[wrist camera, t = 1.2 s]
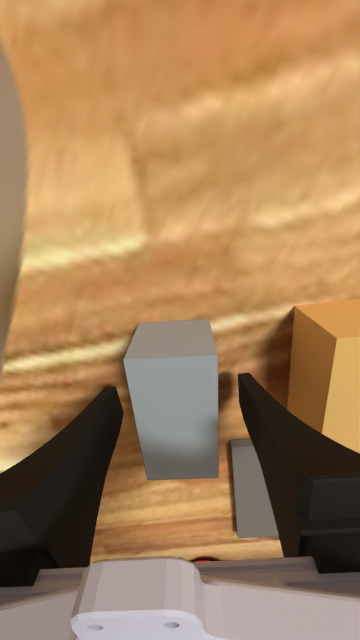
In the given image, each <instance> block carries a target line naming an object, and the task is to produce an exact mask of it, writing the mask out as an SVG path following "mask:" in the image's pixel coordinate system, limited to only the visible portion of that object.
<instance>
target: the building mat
mask: <svg viewBox="0 0 360 640" xmlns="http://www.w3.org/2000/svg"><path fill="white" fill-rule="evenodd" d="M230 442H231V457H232V472H233V486H234V501H235V516H236V530H237V536H238V538H250V537H269V536H279V534H278V530H277V526H276V522H275V518H274V514H273V510H272V506H271V503H270V499H269V495H268V491H267V488H266V484H265V480H264V476H263V473H262V469H261V466H260V463H259V460H258V457H257V454H256V451H255V448H254V446H253V443H252V440H251V439H240V440H230Z"/></svg>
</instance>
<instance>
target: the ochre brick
mask: <svg viewBox="0 0 360 640" xmlns="http://www.w3.org/2000/svg"><path fill="white" fill-rule="evenodd" d="M287 410H288V411H289V412H291V413H292V414H293V415H295V416H296V417H297V418H299V419H300V420H301V421H303V422H304V423H306V424H307V425H309V426H310V427H312V428H314V429H315V430H317V431H318V432H320V433H322V434H323V435H325V436H327V437H328V438H330V439H332V440H334V441H336V442H338V443H340V444H341V445H343V446H345V447H347V448H349V449H352V450H354V451H356V452H358V453H360V298H359V299H350V300H341V301H333V302H324V303H315V304H306V305H298V306H295V307H294V321H293V335H292V349H291V363H290V377H289V391H288V405H287Z"/></svg>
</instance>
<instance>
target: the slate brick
mask: <svg viewBox="0 0 360 640" xmlns="http://www.w3.org/2000/svg"><path fill="white" fill-rule="evenodd" d="M123 362H124V367H125V372H126V377H127V382H128V387H129V392H130V397H131V402H132V407H133V412H134V416H135V421H136V426H137V431H138V436H139V441H140V446H141V451H142V456H143V461H144V466H145V471H146V476H147V480H170V479H202V478H219V457H218V354H217V350H216V346H215V342H214V338H213V334H212V330H211V326H210V322H209V319H198V320H181V321H165V322H148V323H139V324H138V327H137V329H136V331H135V334H134V336H133V338H132V341H131V343H130V345H129V348H128V350H127V352H126V355H125V357H124V359H123Z"/></svg>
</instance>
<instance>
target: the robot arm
mask: <svg viewBox="0 0 360 640" xmlns="http://www.w3.org/2000/svg"><path fill="white" fill-rule="evenodd" d="M238 385H239V403H240V407H241V411H242V415H243V419H244V422H245V424H246V427H247V430H248V432H249V435H250V438H251V440H252V443H253V446H254V448H255V451H256V454H257V457H258V460H259V463H260V466H261V469H262V473H263V476H264V480H265V484H266V488H267V491H268V495H269V499H270V503H271V506H272V510H273V514H274V518H275V522H276V526H277V530H278V534H279V538H280V542H281V547H282V551H283V555H284V558H269V559H248V560H227V561H206V562H191V561H189V560H186V559H184V558H181V557H171V556H161V557H141V558H121V559H105V560H100V561H95V562H93V563H92V564H91V565H89V564H90V558H91V551H92V544H93V538H94V533H95V527H96V521H97V516H98V511H99V506H100V501H101V496H102V491H103V487H104V482H105V478H106V474H107V470H108V467H109V464H110V461H111V458H112V455H113V451H114V448H115V445H116V442H117V439H118V436H119V432H120V429H121V424H122V418H123V409H122V406H121V403H120V399H119V396H118V393H117V390H116V386H114V387H105V388H104V389H103V390H102V391H101V392H100V393H99V394H98V395H97V397H96V398H95V399H94V400H93V401H92V402H91V403H90V404H89V405H88V406H87V407H86V408H85V409H84V410H83V411H82V412H81V413H80V414H79V415H78V416H77V417H76V418H75V419H74V420H73V421H72V422H71V423H69V424H68V425H67V426H66V427H65V428H64V429H63V430H62V431H61V432H59V433H58V434H57V435H56V436H55V437H53V438H52V439H51V440H50V441H48V442H47V443H46V444H44V445H43V446H42V447H40V448H39V449H38V450H36V451H35V452H33V453H32V454H31V455H29V456H28V457H26V458H25V459H23V460H22V461H20V462H19V463H17V464H16V465H14V466H12V467H11V468H9V469H8V470H6V471H4V472H3V473H1V474H0V640H360V453H358V452H356V451H354V450H352V449H349V448H347V447H345V446H343V445H341V444H340V443H338V442H336V441H334V440H332V439H330V438H328V437H327V436H325V435H323V434H322V433H320V432H318V431H317V430H315V429H314V428H312V427H310V426H309V425H307V424H306V423H304V422H303V421H301V420H300V419H299V418H297V417H296V416H295V415H293V414H292V413H291V412H289V411H288V410H287V409H286V408H284V407H283V406H282V405H281V404H280V403H279V402H278V401H276V400H275V399H274V398H273V397H272V396H271V395H270V394H269V393H268V392H267V391H266V390H265V389H264V388H263V387H262V386H261V385H260V384H259V383H258V382H257V381H256V380H255V379H254V377H253V376H252V375H251V374H250V373H242V374H238Z"/></svg>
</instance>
